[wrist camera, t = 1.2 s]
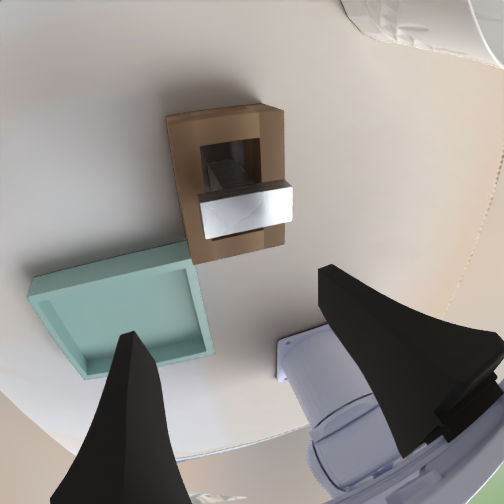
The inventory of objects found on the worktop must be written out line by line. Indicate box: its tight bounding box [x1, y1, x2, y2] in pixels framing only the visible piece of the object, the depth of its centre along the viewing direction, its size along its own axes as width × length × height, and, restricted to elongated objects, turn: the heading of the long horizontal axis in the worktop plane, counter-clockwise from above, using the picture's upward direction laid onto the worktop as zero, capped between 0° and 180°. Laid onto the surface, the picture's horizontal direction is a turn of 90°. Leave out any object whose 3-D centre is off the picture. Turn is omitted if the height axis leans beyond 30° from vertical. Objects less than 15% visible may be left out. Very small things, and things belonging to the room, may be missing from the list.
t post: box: [197, 159, 292, 239], centre depth 16 cm, size 4×2×6 cm, turn 92°
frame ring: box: [166, 104, 285, 265], centre depth 17 cm, size 6×8×3 cm
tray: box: [27, 241, 215, 380], centre depth 20 cm, size 12×10×2 cm
